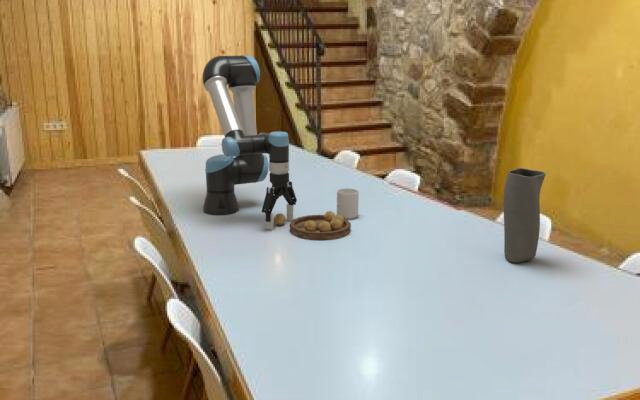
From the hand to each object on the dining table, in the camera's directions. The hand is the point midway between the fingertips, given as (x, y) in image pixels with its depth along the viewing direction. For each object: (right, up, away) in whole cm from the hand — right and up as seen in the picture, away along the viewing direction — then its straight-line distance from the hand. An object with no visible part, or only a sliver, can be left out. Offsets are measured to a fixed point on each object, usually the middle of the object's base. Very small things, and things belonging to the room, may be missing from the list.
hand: (280, 224), depth 231 cm
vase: (+82, -10, -34) cm, 90 cm away
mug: (+27, +3, +13) cm, 30 cm away
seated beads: (+19, -1, -8) cm, 21 cm away
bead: (0, 0, 0) cm, 0 cm away
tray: (+16, -2, -6) cm, 17 cm away
